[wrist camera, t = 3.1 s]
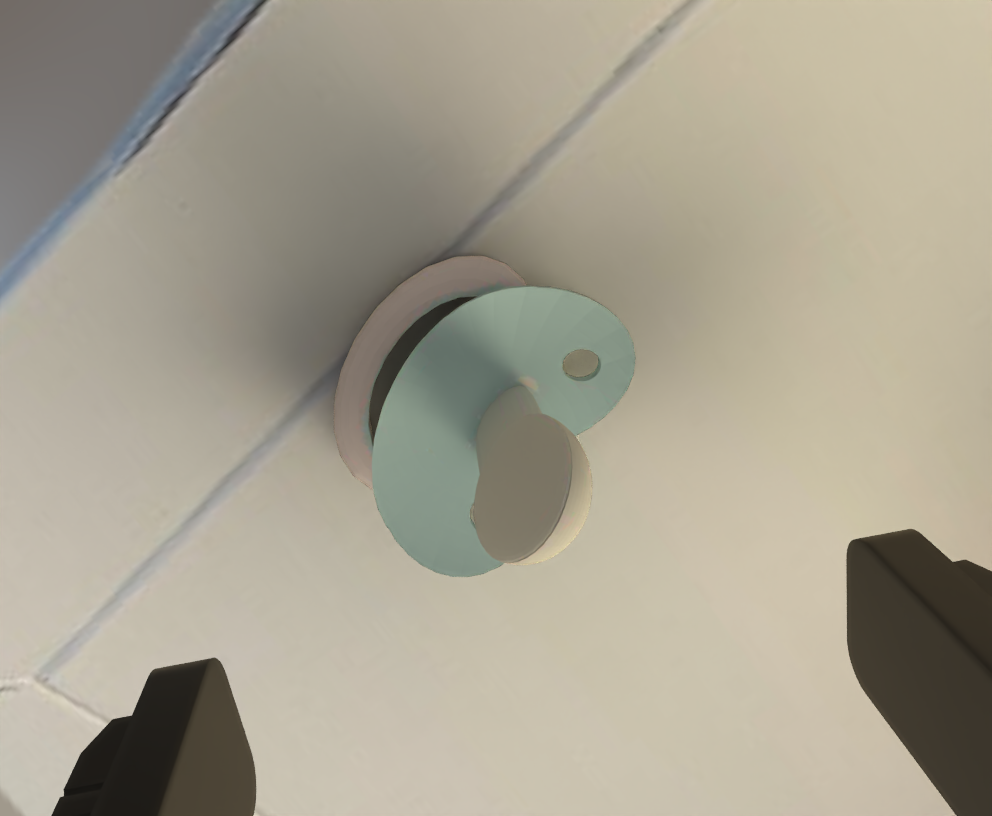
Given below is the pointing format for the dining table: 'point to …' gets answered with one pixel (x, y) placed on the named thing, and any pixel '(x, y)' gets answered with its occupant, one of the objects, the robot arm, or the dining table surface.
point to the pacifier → (481, 415)
